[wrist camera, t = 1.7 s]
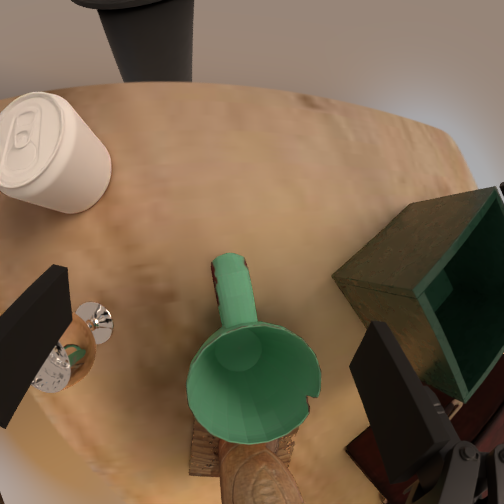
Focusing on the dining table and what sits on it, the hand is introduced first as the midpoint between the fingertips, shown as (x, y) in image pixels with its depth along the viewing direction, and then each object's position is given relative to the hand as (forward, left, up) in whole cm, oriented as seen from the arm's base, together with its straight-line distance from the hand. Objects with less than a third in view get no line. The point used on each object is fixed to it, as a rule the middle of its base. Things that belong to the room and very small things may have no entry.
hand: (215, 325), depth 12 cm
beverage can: (-12, -12, -18) cm, 25 cm away
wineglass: (+3, -12, -18) cm, 22 cm away
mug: (+5, +2, -18) cm, 19 cm away
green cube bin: (+4, +22, -18) cm, 28 cm away
